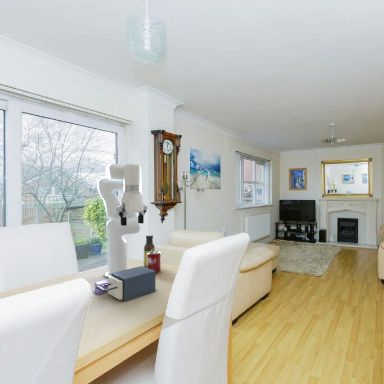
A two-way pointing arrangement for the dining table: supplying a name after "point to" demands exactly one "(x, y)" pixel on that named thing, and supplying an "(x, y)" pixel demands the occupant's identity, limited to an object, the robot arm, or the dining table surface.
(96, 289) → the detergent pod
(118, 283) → the white drawer
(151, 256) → the soda can
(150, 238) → the sauce bottle
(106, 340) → the dining table surface
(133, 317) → the dining table surface
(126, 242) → the robot arm
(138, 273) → the blue-grey drawer housing
